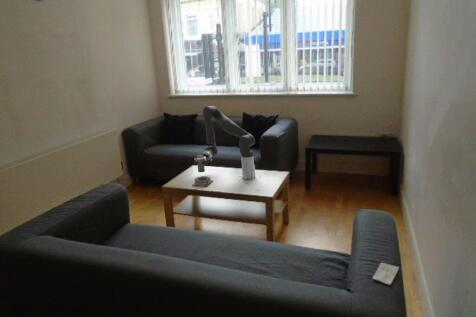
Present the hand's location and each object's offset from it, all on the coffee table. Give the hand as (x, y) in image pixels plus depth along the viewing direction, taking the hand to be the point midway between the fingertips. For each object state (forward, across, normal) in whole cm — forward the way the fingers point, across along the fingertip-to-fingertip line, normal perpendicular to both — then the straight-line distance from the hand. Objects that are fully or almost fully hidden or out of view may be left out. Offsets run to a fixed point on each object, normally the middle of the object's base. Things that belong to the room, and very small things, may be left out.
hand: (199, 163), depth 273 cm
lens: (-3, 0, +7) cm, 7 cm away
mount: (-2, 0, +17) cm, 17 cm away
